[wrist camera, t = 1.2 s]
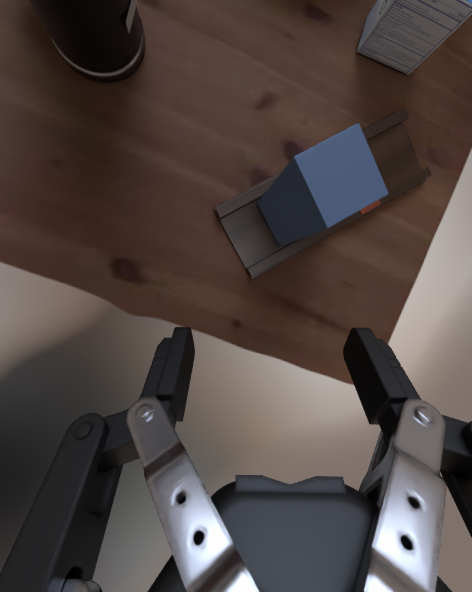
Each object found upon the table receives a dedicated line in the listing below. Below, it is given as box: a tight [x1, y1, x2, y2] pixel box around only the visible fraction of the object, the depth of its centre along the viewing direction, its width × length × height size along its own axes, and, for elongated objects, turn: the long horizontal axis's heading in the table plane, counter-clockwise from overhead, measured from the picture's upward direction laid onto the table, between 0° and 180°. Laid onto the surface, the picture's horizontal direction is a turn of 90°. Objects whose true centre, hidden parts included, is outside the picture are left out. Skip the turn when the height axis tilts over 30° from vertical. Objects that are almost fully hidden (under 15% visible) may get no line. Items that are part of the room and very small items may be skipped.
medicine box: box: [357, 0, 472, 75], centre depth 28 cm, size 8×4×9 cm, turn 75°
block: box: [257, 123, 389, 246], centre depth 25 cm, size 6×6×12 cm
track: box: [213, 109, 432, 280], centre depth 31 cm, size 10×28×1 cm, turn 119°
